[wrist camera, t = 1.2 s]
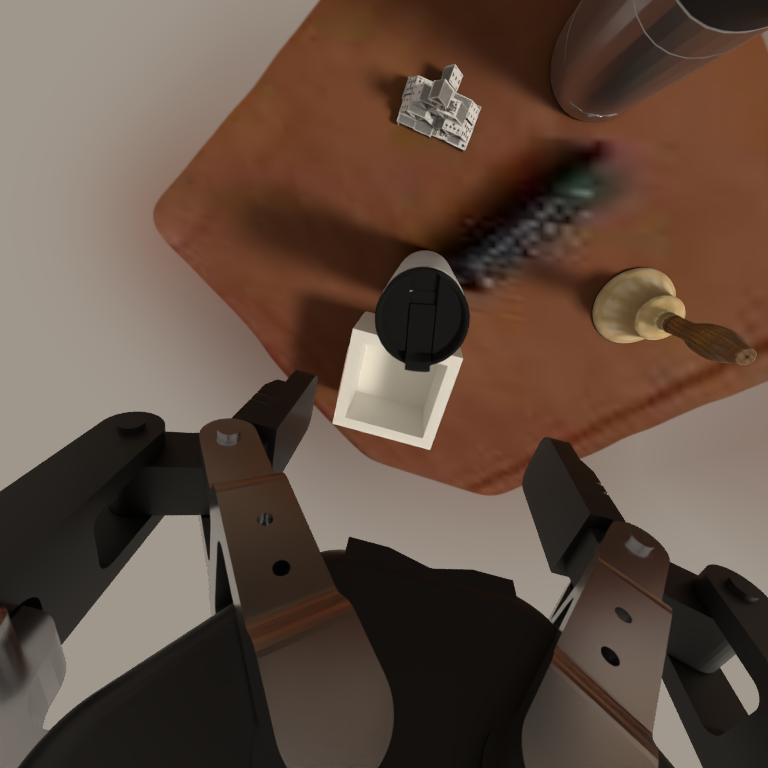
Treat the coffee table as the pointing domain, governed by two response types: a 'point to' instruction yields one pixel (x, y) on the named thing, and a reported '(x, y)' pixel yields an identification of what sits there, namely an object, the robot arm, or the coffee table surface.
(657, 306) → the hand bell
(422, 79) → the house of cards
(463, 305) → the travel mug
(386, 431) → the socket
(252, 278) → the coffee table surface
